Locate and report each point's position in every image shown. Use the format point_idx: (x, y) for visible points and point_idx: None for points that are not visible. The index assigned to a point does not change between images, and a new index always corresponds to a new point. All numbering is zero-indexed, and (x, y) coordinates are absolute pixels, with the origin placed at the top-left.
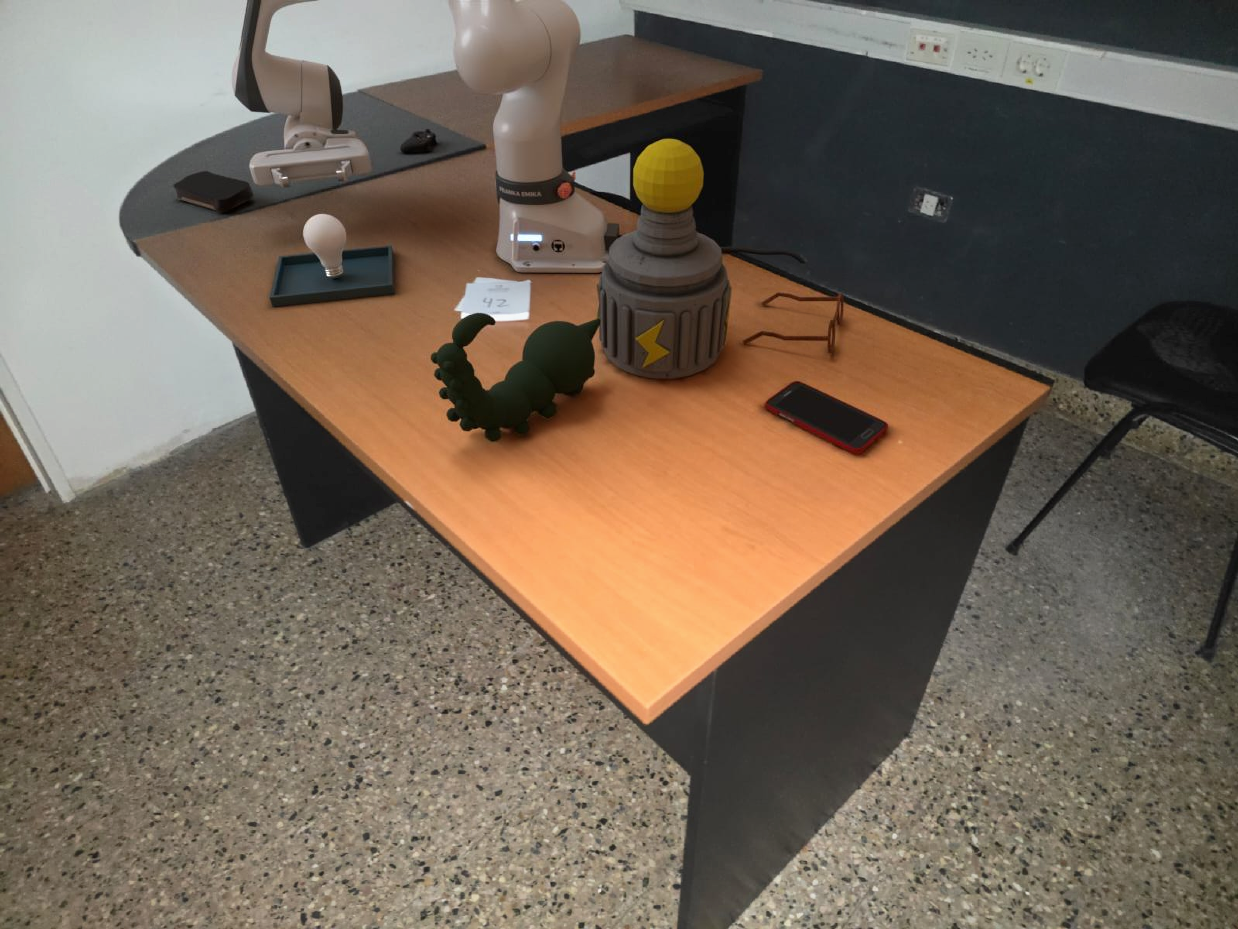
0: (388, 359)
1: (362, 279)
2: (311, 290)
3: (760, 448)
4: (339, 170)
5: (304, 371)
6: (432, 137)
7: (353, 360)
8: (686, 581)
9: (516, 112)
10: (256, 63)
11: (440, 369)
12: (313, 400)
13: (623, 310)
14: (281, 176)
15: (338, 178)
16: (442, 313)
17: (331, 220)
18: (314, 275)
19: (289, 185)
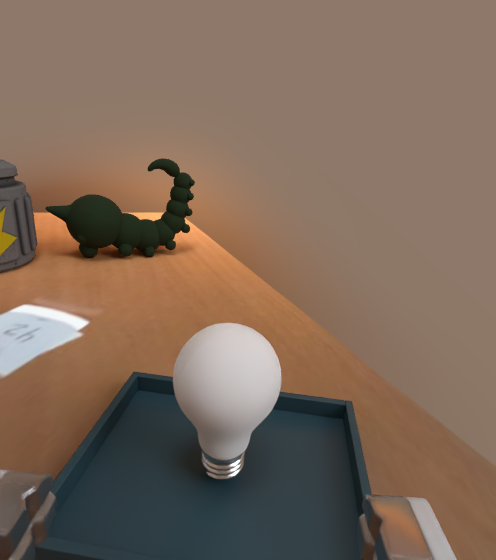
0: (199, 302)
1: (167, 444)
2: (279, 440)
3: (41, 226)
4: (16, 482)
5: (282, 310)
6: None
7: (233, 308)
8: (138, 217)
9: None
10: None
11: (189, 192)
12: (273, 289)
13: (30, 197)
14: (416, 515)
15: (53, 496)
16: (101, 334)
17: (205, 328)
18: (273, 502)
19: (358, 524)
